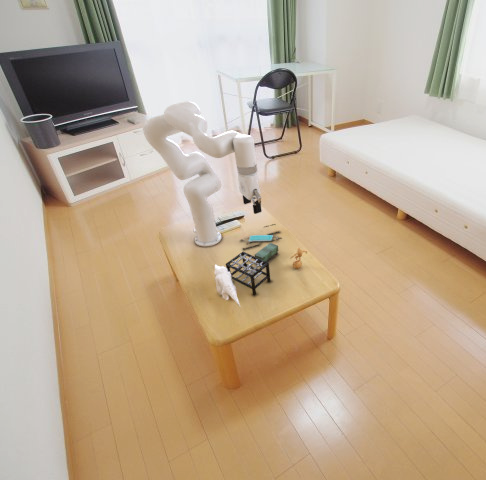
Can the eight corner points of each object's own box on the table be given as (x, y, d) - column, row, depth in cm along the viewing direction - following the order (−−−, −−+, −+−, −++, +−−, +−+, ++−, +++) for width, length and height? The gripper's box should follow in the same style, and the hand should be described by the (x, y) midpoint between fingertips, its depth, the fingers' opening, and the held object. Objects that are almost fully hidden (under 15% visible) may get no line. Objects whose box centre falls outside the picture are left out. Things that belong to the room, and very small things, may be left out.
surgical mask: (277, 222, 170) (284, 232, 163) (277, 230, 173) (284, 239, 165) (237, 232, 162) (242, 243, 155) (238, 240, 165) (244, 250, 158)
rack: (229, 282, 140) (225, 263, 134) (245, 269, 147) (242, 251, 141) (254, 295, 134) (252, 276, 128) (270, 281, 141) (268, 262, 135)
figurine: (303, 262, 151) (302, 240, 144) (310, 269, 147) (310, 247, 140) (286, 268, 148) (285, 246, 141) (293, 276, 144) (292, 253, 137)
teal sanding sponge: (263, 267, 148) (262, 258, 145) (255, 263, 150) (254, 254, 147) (278, 254, 156) (278, 245, 153) (271, 251, 158) (270, 242, 155)
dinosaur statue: (226, 276, 143) (222, 255, 136) (250, 311, 127) (247, 290, 120) (210, 282, 140) (205, 261, 133) (233, 319, 124) (228, 297, 117)
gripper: (229, 163, 133) (235, 202, 143) (247, 178, 121) (253, 219, 131) (246, 159, 136) (251, 197, 146) (266, 173, 125) (270, 213, 134)
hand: (252, 207), depth 138 cm, fingers open, 9 cm apart
